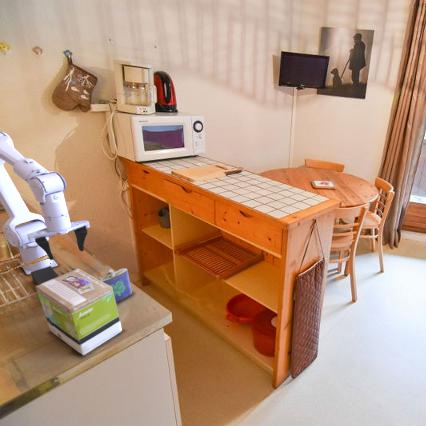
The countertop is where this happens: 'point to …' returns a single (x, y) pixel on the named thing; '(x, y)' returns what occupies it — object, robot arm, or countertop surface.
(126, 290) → the flask
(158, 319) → the countertop surface
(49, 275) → the tongue pad
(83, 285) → the tea box
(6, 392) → the countertop surface
